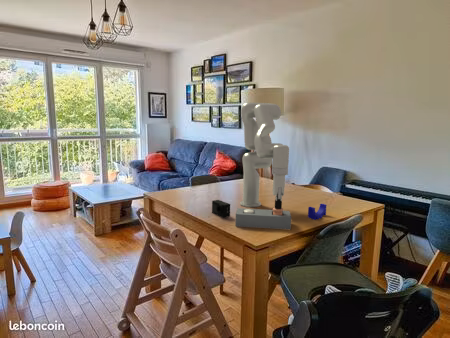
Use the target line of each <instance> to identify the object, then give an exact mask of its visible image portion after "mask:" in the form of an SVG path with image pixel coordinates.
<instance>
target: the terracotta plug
mask: <svg viewBox="0 0 450 338" xmlns="http://www.w3.org/2000/svg"><path fill="white" fill-rule="evenodd" d="M272 210H273V215H282V212H283V211H284V208H282V209H275V206H274V207H272Z"/></svg>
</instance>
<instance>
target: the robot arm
mask: <svg viewBox="0 0 450 338" xmlns="http://www.w3.org/2000/svg"><path fill="white" fill-rule="evenodd" d="M240 116H241V119H242V124H243V131H244V134H243V137H244V147H245V149H246V150H248V151H251V152H245V153H244V154H242V158H241V159H242V160H241V162H242V167H243V177H242V179H243V184H242V200H241V201H240V202H239V205H240V206H243V207H246V208H257V207H261V205H262V203H261V201H259V200H260V173H259V172H258V171H257V169H268V168H270V167H271V175H273V181H272V195H273V196H275V198H274V207H275V209H282V205H283V198H282V197H284V195H285V187H286V176H288V175H289V162H290V160H289V159H290V147H289V145H287V144H283V143H277V142H276V143H275V142H274V143H273V142H272V138H271V136H270V134H271V133H273V132H274V131H275V129H276V125H275V124H276V123H275V122H274V121H277V120H279V119H280V118H281V116H282V110H281V107H280V105H278V104H277V103H268V102H245V103H244V104H243V105H241V109H240Z"/></svg>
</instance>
